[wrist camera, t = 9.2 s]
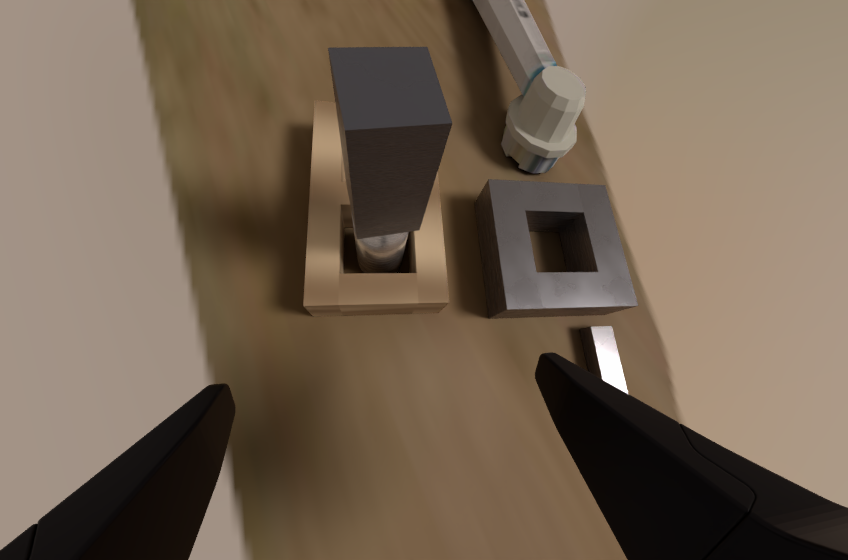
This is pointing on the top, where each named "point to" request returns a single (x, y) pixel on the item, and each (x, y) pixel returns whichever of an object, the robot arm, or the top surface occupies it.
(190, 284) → the top surface
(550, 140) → the white bulb-headed handheld tool
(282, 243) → the top surface
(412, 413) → the top surface
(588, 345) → the bar
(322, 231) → the rack
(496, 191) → the socket
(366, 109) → the tall grey square pillar
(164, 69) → the top surface
